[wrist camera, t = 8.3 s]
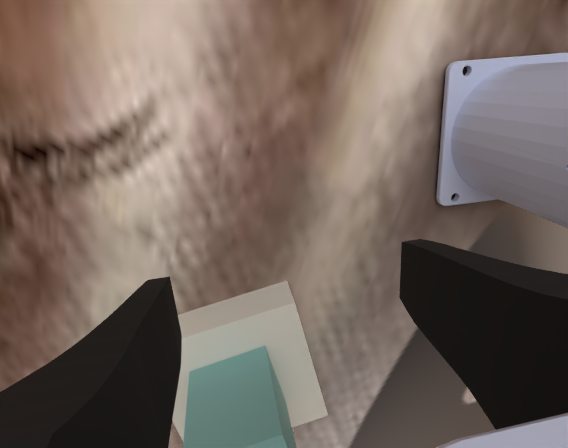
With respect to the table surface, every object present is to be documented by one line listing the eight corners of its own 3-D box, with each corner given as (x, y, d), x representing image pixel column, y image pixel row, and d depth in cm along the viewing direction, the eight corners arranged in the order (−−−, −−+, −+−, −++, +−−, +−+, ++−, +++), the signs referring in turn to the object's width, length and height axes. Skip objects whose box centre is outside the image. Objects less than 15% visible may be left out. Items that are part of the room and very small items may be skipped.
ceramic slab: (285, 276, 24) (294, 302, 21) (316, 381, 27) (328, 415, 25) (146, 320, 23) (136, 353, 21) (195, 422, 27) (193, 461, 24)
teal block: (265, 345, 22) (282, 434, 16) (285, 401, 23) (307, 499, 18) (189, 371, 22) (180, 470, 16) (215, 426, 23) (216, 534, 18)
